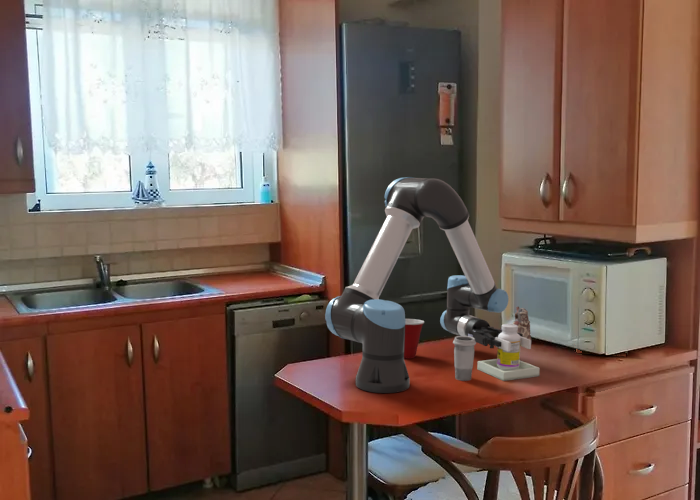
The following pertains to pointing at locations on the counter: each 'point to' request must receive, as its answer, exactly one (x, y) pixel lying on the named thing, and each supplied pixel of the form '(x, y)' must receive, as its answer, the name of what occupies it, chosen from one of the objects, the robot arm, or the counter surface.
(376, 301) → the robot arm
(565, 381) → the counter surface
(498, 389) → the counter surface
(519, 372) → the tray
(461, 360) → the cup
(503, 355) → the supplement bottle
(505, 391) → the counter surface
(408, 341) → the plastic cup
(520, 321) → the figurine
